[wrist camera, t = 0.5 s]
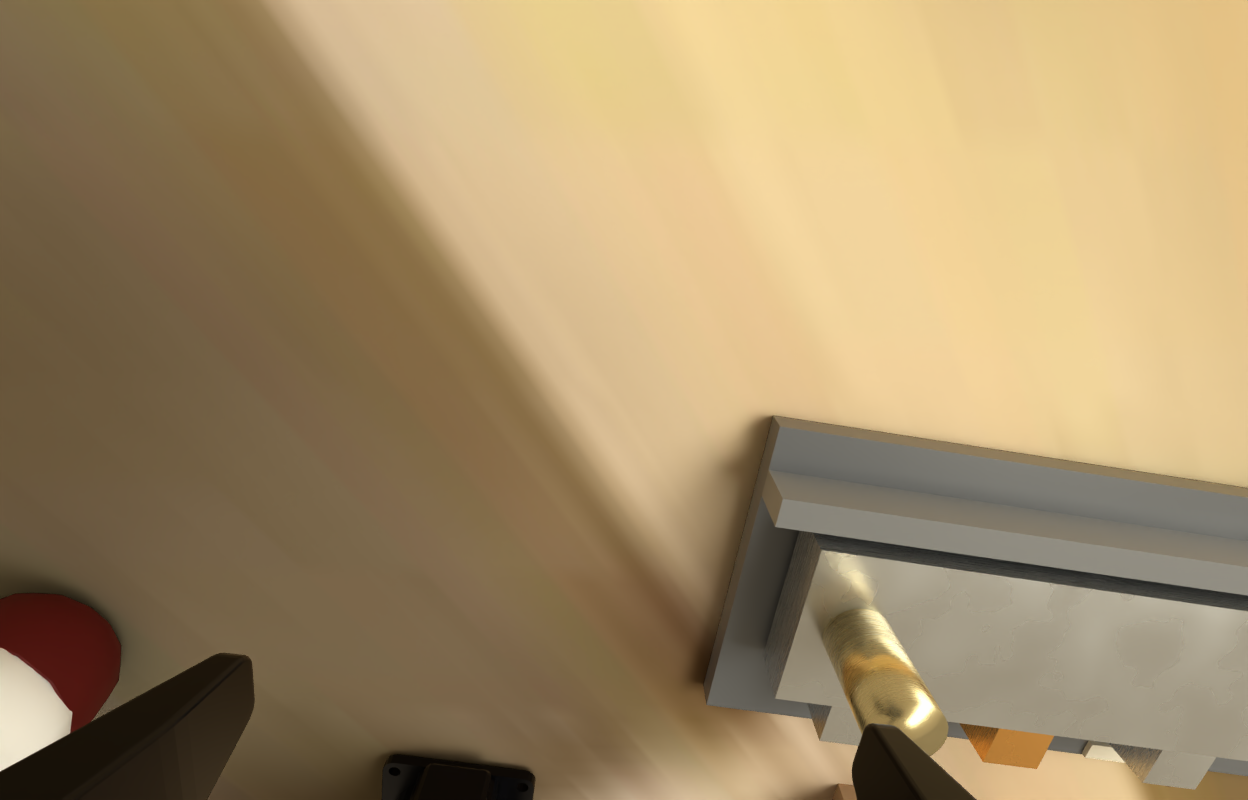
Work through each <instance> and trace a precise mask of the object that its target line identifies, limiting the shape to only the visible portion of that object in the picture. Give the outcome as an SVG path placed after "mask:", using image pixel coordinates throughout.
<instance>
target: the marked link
mask: <svg viewBox="0 0 1248 800" xmlns="http://www.w3.org/2000/svg"><path fill="white" fill-rule="evenodd" d="M832 800H857V798H856V793H855V789H854V786H853V785H845V784H838V785H837V788H836V791H835V793H834V796H833V798H832Z"/></svg>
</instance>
